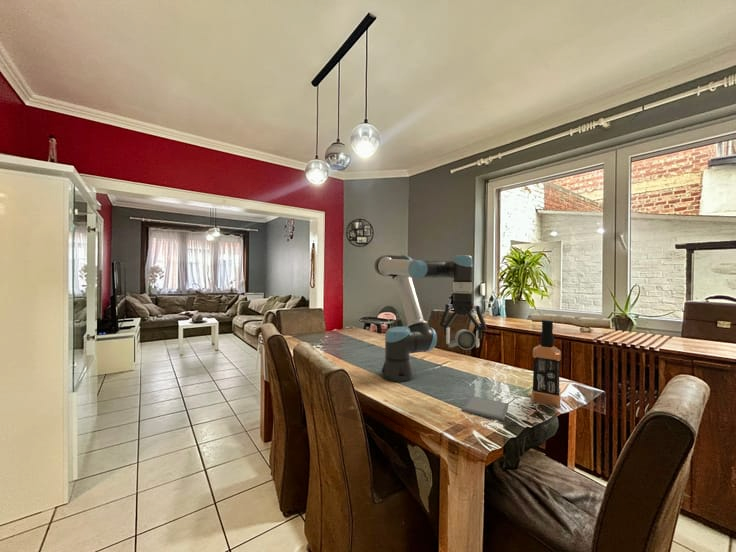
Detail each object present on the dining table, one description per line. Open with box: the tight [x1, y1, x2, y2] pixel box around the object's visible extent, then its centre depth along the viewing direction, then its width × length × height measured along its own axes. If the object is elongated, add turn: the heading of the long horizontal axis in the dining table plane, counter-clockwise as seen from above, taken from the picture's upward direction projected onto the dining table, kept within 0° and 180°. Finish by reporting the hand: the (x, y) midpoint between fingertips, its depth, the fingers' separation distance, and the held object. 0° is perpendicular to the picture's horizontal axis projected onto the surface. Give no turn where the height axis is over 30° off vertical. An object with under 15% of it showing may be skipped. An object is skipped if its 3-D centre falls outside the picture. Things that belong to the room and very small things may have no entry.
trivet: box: [461, 395, 510, 422], centre depth 114 cm, size 14×14×1 cm
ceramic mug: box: [447, 328, 476, 351], centre depth 127 cm, size 11×8×8 cm
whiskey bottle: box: [530, 319, 562, 408], centre depth 122 cm, size 10×10×32 cm
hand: (462, 345), depth 126 cm, fingers closed on ceramic mug, 11 cm apart
